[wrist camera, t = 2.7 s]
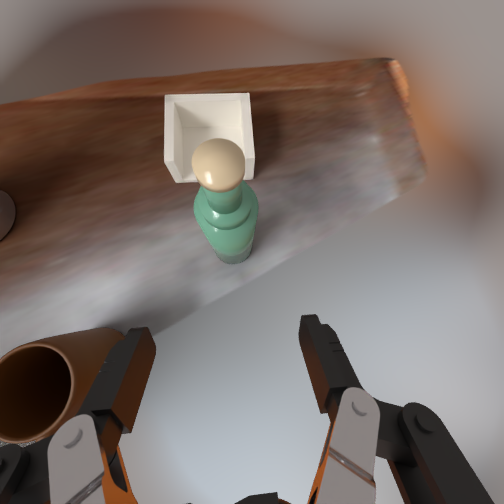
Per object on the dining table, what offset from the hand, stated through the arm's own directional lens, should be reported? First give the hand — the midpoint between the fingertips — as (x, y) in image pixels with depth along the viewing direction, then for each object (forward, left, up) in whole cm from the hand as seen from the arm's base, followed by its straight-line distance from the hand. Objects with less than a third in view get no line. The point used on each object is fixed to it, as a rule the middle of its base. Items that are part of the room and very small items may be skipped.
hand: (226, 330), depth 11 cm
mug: (-13, -12, -17) cm, 24 cm away
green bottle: (-3, +8, -17) cm, 19 cm away
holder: (-10, +21, -17) cm, 29 cm away
